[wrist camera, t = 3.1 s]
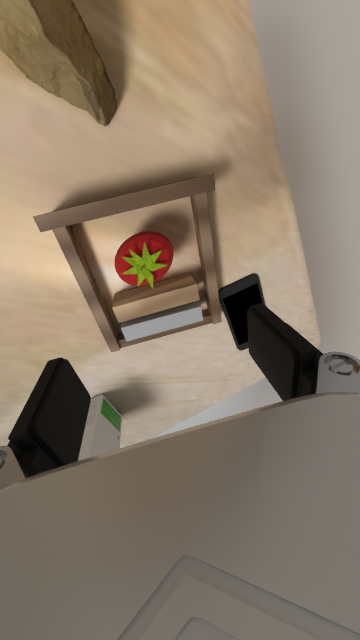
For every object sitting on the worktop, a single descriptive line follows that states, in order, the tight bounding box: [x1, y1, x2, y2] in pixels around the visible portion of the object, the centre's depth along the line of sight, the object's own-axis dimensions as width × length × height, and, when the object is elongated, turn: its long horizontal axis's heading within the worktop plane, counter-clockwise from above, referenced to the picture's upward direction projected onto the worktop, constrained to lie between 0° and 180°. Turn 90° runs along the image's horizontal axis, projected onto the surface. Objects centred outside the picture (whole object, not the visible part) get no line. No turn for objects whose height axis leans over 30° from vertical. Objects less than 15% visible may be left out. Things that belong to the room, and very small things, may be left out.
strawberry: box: [115, 231, 173, 289], centre depth 27 cm, size 6×8×10 cm
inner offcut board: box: [112, 273, 200, 323], centre depth 33 cm, size 2×12×5 cm, turn 102°
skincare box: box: [78, 394, 122, 461], centre depth 39 cm, size 8×7×16 cm
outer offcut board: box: [121, 301, 203, 342], centre depth 35 cm, size 2×12×5 cm, turn 101°
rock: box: [0, 0, 117, 126], centre depth 19 cm, size 11×9×10 cm
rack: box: [33, 174, 222, 352], centre depth 31 cm, size 21×19×6 cm
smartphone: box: [218, 274, 265, 350], centre depth 40 cm, size 7×15×1 cm, turn 23°
